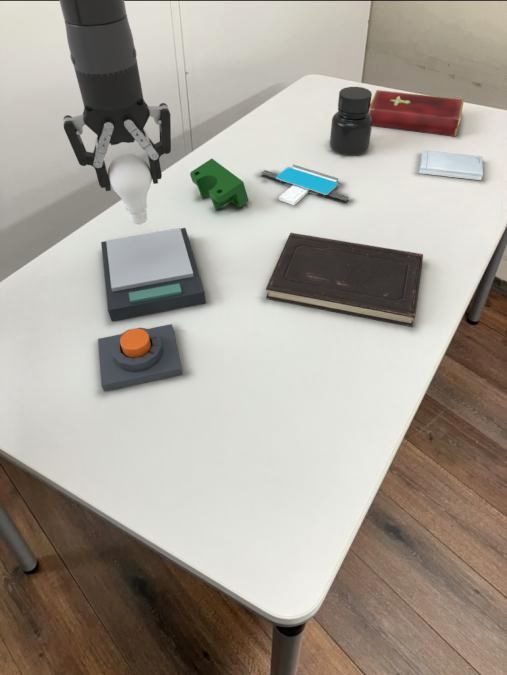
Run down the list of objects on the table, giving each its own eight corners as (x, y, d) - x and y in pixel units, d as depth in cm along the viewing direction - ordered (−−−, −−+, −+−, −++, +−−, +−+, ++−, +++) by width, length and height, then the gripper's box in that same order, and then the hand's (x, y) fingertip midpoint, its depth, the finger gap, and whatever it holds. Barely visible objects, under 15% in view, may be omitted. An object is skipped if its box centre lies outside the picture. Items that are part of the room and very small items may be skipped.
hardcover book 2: (455, 137, 118) (461, 119, 115) (365, 126, 123) (368, 108, 120) (459, 115, 126) (464, 98, 123) (374, 105, 131) (376, 88, 128)
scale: (111, 321, 79) (106, 306, 77) (104, 253, 91) (99, 237, 89) (206, 303, 82) (204, 287, 79) (187, 238, 94) (184, 223, 91)
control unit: (103, 391, 70) (98, 378, 68) (100, 345, 76) (95, 331, 74) (182, 374, 72) (180, 360, 70) (173, 330, 78) (170, 316, 76)
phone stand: (245, 188, 105) (244, 181, 104) (276, 164, 112) (276, 157, 110) (331, 218, 97) (331, 210, 96) (359, 190, 104) (360, 182, 102)
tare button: (123, 360, 70) (121, 352, 69) (121, 340, 73) (118, 331, 72) (152, 354, 71) (150, 346, 70) (149, 334, 74) (147, 326, 72)
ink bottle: (370, 139, 119) (378, 85, 110) (370, 157, 113) (379, 102, 104) (328, 137, 120) (332, 83, 111) (326, 155, 114) (331, 100, 105)
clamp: (206, 212, 107) (184, 173, 102) (229, 197, 108) (208, 158, 103) (229, 220, 97) (206, 177, 92) (253, 203, 98) (232, 159, 93)
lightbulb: (114, 218, 79) (98, 151, 71) (152, 208, 81) (139, 142, 73) (126, 239, 76) (110, 171, 68) (165, 228, 78) (154, 160, 70)
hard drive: (482, 155, 109) (422, 148, 112) (483, 174, 104) (420, 166, 106) (480, 162, 110) (421, 155, 113) (480, 181, 105) (419, 174, 108)
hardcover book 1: (412, 327, 77) (415, 316, 75) (266, 298, 82) (265, 288, 80) (420, 262, 87) (423, 252, 86) (290, 241, 92) (291, 230, 91)
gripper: (160, 43, 65) (176, 165, 77) (43, 55, 63) (80, 179, 75) (168, 63, 60) (185, 190, 72) (42, 77, 58) (81, 206, 70)
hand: (131, 184), depth 74 cm, fingers closed on lightbulb, 6 cm apart
